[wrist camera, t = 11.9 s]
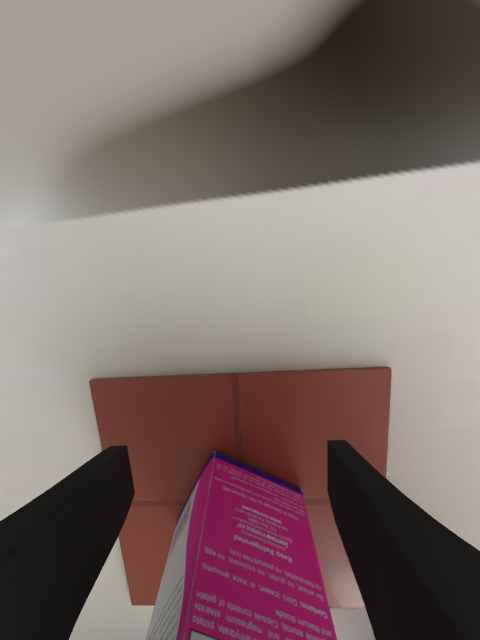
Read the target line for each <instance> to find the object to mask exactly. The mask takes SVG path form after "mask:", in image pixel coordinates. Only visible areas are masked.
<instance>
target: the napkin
mask: <svg viewBox="0 0 480 640" xmlns="http://www.w3.org/2000/svg"><path fill="white" fill-rule="evenodd" d="M89 383H90V388H91V393H92V399H93V404H94V409H95V414H96V420H97V425H98V430H99V435H100V440H101V446H102V451H104V450H105V449H107V448H108V447H110V446H122V445H127V448H128V454H129V460H130V466H131V471H132V477H133V483H134V489H135V495H134V498H133V501H132V504H131V506H130V509H129V512H128V515H127V517H126V520H125V523H124V525H123V527H122V529H121V531H120V533H119V540H120V545H121V551H122V556H123V561H124V566H125V572H126V577H127V582H128V587H129V592H130V598H131V603H132V605H155V603H156V599H157V595H158V592H159V588H160V584H161V581H162V577H163V573H164V569H165V566H166V562H167V558H168V554H169V550H170V547H171V543H172V539H173V535H174V531H175V526H176V522H177V520H178V518H179V516H180V514H181V512H182V510H183V508H184V505H185V503H186V501H187V499H188V497H189V495H190V494H191V492H192V490H193V488H194V486H195V484H196V482H197V480H198V478H199V476H200V474H201V472H202V470H203V468H204V467H205V465H206V463H207V461H208V459H209V457H210V456H211V454H212V453H213V451H217V452H219V453H221V454H223V455H225V456H227V457H229V458H231V459H234V460H236V461H238V462H240V463H242V464H245V465H247V466H249V467H251V468H253V469H256V470H258V471H260V472H262V473H265V474H267V475H269V476H272V477H274V478H276V479H278V480H281V481H283V482H285V483H288V484H290V485H292V486H295V487H297V488H299V489H301V490H302V491H303V496H304V500H305V505H306V509H307V513H308V518H309V522H310V526H311V530H312V534H313V539H314V543H315V548H316V552H317V556H318V561H319V565H320V569H321V574H322V578H323V582H324V587H325V591H326V596H327V600H328V604H329V608H366V607H365V604H364V602H363V599H362V596H361V593H360V590H359V588H358V585H357V582H356V579H355V577H354V574H353V571H352V568H351V565H350V563H349V560H348V557H347V554H346V551H345V549H344V546H343V543H342V540H341V537H340V535H339V532H338V529H337V526H336V523H335V519H334V515H333V511H332V508H331V503H330V499H329V495H328V491H327V440H346V441H347V442H348V443H349V444H350V445H351V446H352V447H353V448H354V449H355V450H356V451H357V452H358V453H360V454H361V455H362V456H363V457H364V458H365V459H366V460H367V461H368V462H369V463H370V464H371V465H372V466H373V467H374V468H375V469H376V470H377V471H378V472H379V473H381V474H382V475H383V476H384V477H385V478H386V468H387V448H388V428H389V408H390V389H391V368H390V367H377V368H353V369H328V370H304V371H279V372H255V373H231V374H206V375H182V376H157V377H133V378H108V379H92V380H90V381H89Z"/></svg>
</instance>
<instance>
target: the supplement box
mask: <svg viewBox="0 0 480 640" xmlns="http://www.w3.org/2000/svg"><path fill="white" fill-rule="evenodd" d="M146 640H337V638H336V634H335V630H334V625H333V621H332V617H331V612H330V608H329V604H328V600H327V596H326V591H325V587H324V582H323V578H322V574H321V569H320V565H319V561H318V556H317V552H316V548H315V543H314V539H313V534H312V530H311V526H310V522H309V518H308V513H307V509H306V505H305V500H304V496H303V491H302V490H301V489H299V488H297V487H295V486H292V485H290V484H288V483H285V482H283V481H281V480H278V479H276V478H274V477H272V476H269V475H267V474H265V473H262V472H260V471H258V470H256V469H253V468H251V467H249V466H247V465H245V464H242V463H240V462H238V461H236V460H234V459H231V458H229V457H227V456H225V455H223V454H221V453H219V452H217V451H213V453H212V454H211V456H210V457H209V459H208V461H207V463H206V465H205V467H204V468H203V470H202V472H201V474H200V476H199V478H198V480H197V482H196V484H195V486H194V488H193V490H192V492H191V494H190V495H189V497H188V499H187V501H186V503H185V505H184V508H183V510H182V512H181V514H180V516H179V518H178V520H177V522H176V526H175V531H174V535H173V539H172V543H171V547H170V550H169V554H168V558H167V562H166V566H165V569H164V573H163V577H162V581H161V584H160V588H159V592H158V595H157V599H156V603H155V607H154V610H153V614H152V617H151V621H150V625H149V628H148V632H147V636H146Z"/></svg>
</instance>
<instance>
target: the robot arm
mask: <svg viewBox="0 0 480 640" xmlns="http://www.w3.org/2000/svg"><path fill="white" fill-rule="evenodd" d="M327 491H328V495H329V499H330V503H331V508H332V511H333V515H334V519H335V523H336V526H337V529H338V532H339V535H340V537H341V540H342V543H343V546H344V549H345V551H346V554H347V557H348V560H349V563H350V565H351V568H352V571H353V574H354V577H355V579H356V582H357V585H358V588H359V590H360V593H361V596H362V599H363V602H364V604H365V607H366V610H367V613H368V616H369V619H370V623H371V626H372V629H373V632H374V636H375V639H376V640H480V551H479V550H477V549H476V548H474V547H473V546H471V545H470V544H468V543H467V542H466V541H464V540H463V539H461V538H460V537H459V536H457V535H456V534H454V533H453V532H452V531H450V530H449V529H448V528H446V527H445V526H443V525H442V524H441V523H439V522H438V521H437V520H435V519H434V518H433V517H431V516H430V515H429V514H428V513H426V512H425V511H424V510H423V509H421V508H420V507H419V506H418V505H416V504H415V503H414V502H413V501H412V500H410V499H409V498H408V497H407V496H405V495H404V494H403V493H402V492H401V491H400V490H398V489H397V488H396V487H395V486H394V485H393V484H392V483H390V482H389V481H388V480H387V479H386V478H385V477H384V476H383V475H382V474H381V473H379V472H378V471H377V470H376V469H375V468H374V467H373V466H372V465H371V464H370V463H369V462H368V461H367V460H366V459H365V458H364V457H363V456H362V455H361V454H360V453H358V452H357V451H356V450H355V449H354V448H353V447H352V446H351V445H350V444H349V443H348V442H347V441H346V440H327ZM134 495H135V489H134V483H133V477H132V471H131V466H130V460H129V454H128V448H127V445H122V446H110V447H108V448H107V449H105V450H104V451H102V452H101V453H99V454H98V455H96V456H95V457H93V458H92V459H91V460H89V461H88V462H86V463H85V464H84V465H82V466H81V467H79V468H78V469H77V470H75V471H74V472H73V473H71V474H70V475H68V476H67V477H66V478H64V479H63V480H61V481H60V482H59V483H57V484H56V485H54V486H53V487H51V488H50V489H48V490H47V491H46V492H44V493H43V494H41V495H40V496H38V497H37V498H35V499H34V500H32V501H31V502H29V503H28V504H26V505H25V506H23V507H22V508H20V509H19V510H17V511H16V512H14V513H13V514H11V515H9V516H8V517H6V518H5V519H3V520H1V521H0V640H69V637H70V635H71V633H72V630H73V628H74V625H75V623H76V621H77V619H78V617H79V614H80V612H81V610H82V608H83V606H84V604H85V602H86V600H87V598H88V596H89V594H90V592H91V590H92V588H93V586H94V584H95V582H96V580H97V578H98V576H99V574H100V572H101V570H102V568H103V566H104V564H105V562H106V560H107V558H108V556H109V554H110V552H111V550H112V548H113V546H114V544H115V541H116V539H117V537H118V535H119V533H120V531H121V529H122V527H123V525H124V523H125V520H126V517H127V515H128V512H129V509H130V506H131V504H132V501H133V498H134Z"/></svg>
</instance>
